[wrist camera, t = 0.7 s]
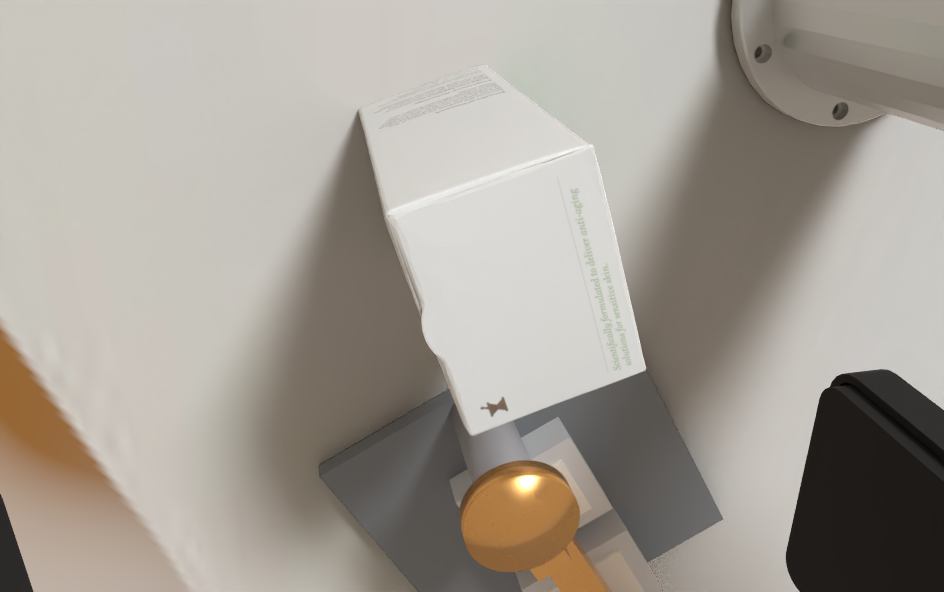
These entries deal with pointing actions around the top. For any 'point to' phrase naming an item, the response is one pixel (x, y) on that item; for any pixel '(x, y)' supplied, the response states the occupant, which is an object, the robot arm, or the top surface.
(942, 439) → the robot arm
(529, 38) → the top surface
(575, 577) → the orange crank handle
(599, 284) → the skincare box
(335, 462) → the sled board
